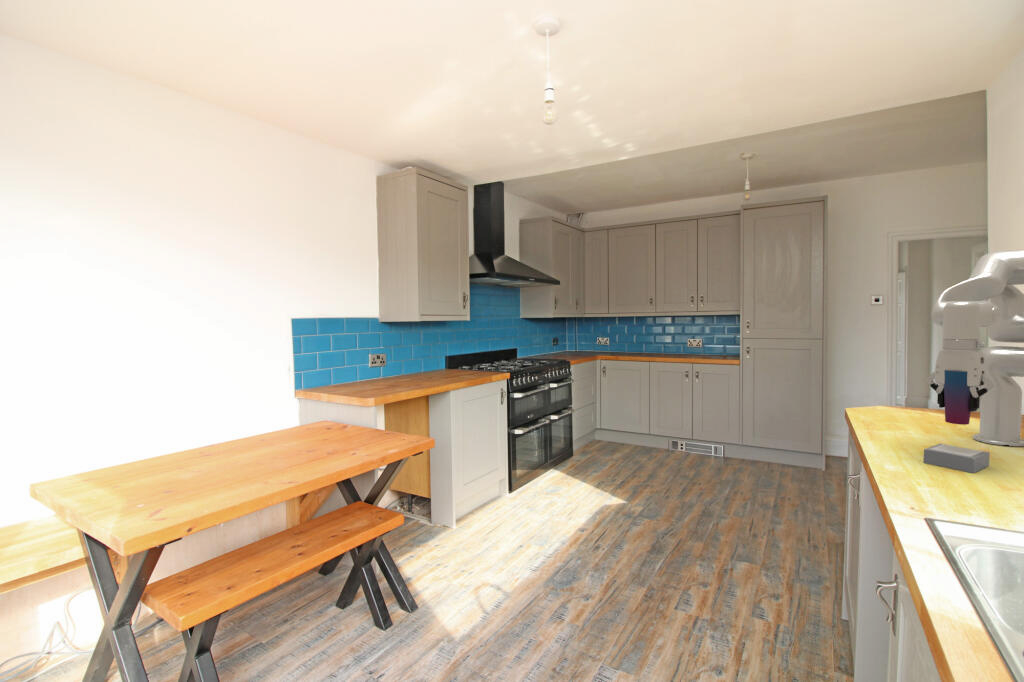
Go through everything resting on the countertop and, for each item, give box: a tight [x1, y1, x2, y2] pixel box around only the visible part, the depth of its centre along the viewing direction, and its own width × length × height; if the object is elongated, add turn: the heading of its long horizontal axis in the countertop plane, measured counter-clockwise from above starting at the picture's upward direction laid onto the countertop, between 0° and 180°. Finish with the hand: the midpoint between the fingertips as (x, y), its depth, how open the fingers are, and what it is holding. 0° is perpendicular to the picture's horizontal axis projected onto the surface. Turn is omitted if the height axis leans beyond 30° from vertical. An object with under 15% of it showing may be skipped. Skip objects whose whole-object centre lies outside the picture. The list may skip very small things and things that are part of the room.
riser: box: [922, 443, 990, 474], centre depth 139 cm, size 11×11×4 cm
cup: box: [944, 370, 972, 426], centre depth 138 cm, size 7×7×15 cm
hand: (957, 408), depth 138 cm, fingers closed on cup, 6 cm apart
